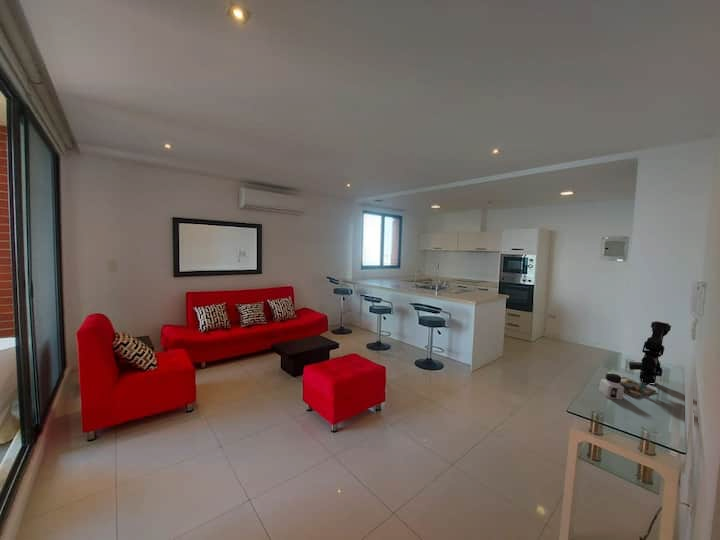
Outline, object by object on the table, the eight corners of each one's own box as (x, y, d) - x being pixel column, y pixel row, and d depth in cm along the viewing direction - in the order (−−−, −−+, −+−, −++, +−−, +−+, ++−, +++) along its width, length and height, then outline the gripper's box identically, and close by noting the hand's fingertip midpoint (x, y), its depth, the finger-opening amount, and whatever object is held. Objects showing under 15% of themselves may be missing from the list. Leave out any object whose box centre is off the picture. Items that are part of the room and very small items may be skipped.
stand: (624, 378, 189) (625, 370, 188) (655, 392, 174) (657, 383, 173) (604, 383, 182) (605, 374, 181) (635, 398, 167) (637, 388, 166)
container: (622, 400, 165) (626, 379, 163) (606, 398, 166) (610, 377, 164) (613, 392, 172) (617, 372, 170) (598, 390, 174) (602, 370, 172)
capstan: (611, 380, 182) (613, 371, 181) (625, 380, 184) (627, 370, 183) (636, 394, 168) (638, 384, 167) (651, 393, 170) (653, 383, 169)
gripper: (632, 352, 181) (627, 374, 184) (630, 361, 168) (625, 386, 171) (657, 358, 173) (651, 382, 176) (657, 369, 160) (651, 394, 163)
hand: (644, 386), depth 172 cm, fingers closed
